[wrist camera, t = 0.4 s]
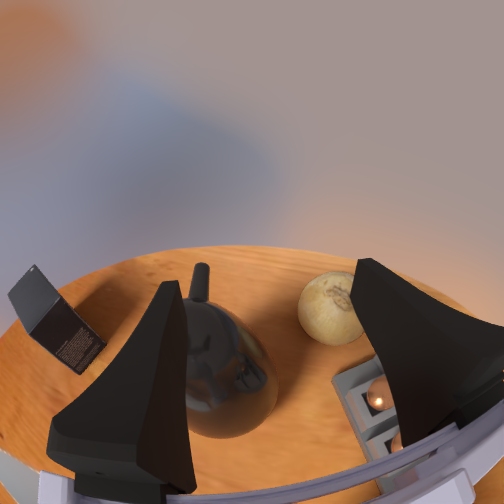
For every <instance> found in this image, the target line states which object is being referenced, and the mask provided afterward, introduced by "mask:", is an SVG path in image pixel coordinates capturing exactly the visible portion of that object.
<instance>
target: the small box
mask: <svg viewBox="0 0 504 504" xmlns="http://www.w3.org/2000/svg"><path fill="white" fill-rule="evenodd" d="M7 295H8V297H9V299H10V301H11V303H12V305H13V307H14V309H15V311H16V313H17V315H18V317H19V319H20V321H21V323H22V325H23V327H24V329H25V330H26V332H27V334H28V335H29V336H30V337H31V338H32V339H34V340H35V341H36V342H37V343H38V344H39V345H41V346H42V347H43V348H44V349H45V350H47V351H48V352H49V353H50V354H52V355H53V356H54V357H55V358H57V359H58V360H59V361H60V362H62V363H63V364H64V365H66V366H67V367H68V368H70V369H71V370H72V371H74V372H75V373H76V374H78V375H81V374H82V372H83V371H84V370H85V369H86V368H87V367H88V365H89V364H90V363H91V362H92V361H93V360H94V358H95V357H96V356H97V355H98V354H99V352H100V351H101V350H102V349H103V348H104V347H105V345H106V342H105V341H104V340H103V339H102V338H101V337H100V336H99V335H98V334H97V333H96V332H95V331H94V330H93V329H92V328H91V327H90V326H89V325H88V324H87V323H86V322H85V321H84V320H83V319H82V317H80V316H79V314H78V313H77V312H76V311H75V310H74V309H73V308H72V307H71V306H70V305H69V304H68V303H67V302H66V300H65V299H64V298H63V297H62V296H61V295H60V294H59V292H58V291H57V290H56V289H55V288H54V287H53V285H52V284H51V283H50V282H49V281H48V279H47V278H46V277H45V276H44V275H43V273H42V272H41V271H40V270H39V269H38V267H37V266H36V265H35V264H34V265H33V266H32V267H31V268H30V269H29V270H28V271H27V272H26V274H25V275H24V276H23V277H22V278H21V279H20V280H19V281H18V282H17V284H16V285H15V286H14V287H13V288H12V289H11V290H10V292H9V293H8V294H7Z"/></svg>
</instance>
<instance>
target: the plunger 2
mask: <svg viewBox="0 0 504 504" xmlns="http://www.w3.org/2000/svg"><path fill="white" fill-rule="evenodd" d="M401 449H403V447H402V444H401V435H400V431H399V432H398V433H397V434H396V435H395V436H394V438H393V440H392V442H391V452H392V453H394V452H396V451H399V450H401Z"/></svg>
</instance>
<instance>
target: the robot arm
mask: <svg viewBox="0 0 504 504" xmlns="http://www.w3.org/2000/svg"><path fill="white" fill-rule="evenodd" d="M349 297H350V300H351V303H352V305H353V308H354V311H355V313H356V316H357V318H358V320H359V322H360V324H361V326H362V327H363V329H364V331H365V333H366V335H367V337H368V339H369V341H370V342H371V344H372V346H373V348H374V350H375V352H376V354H377V356H378V358H379V360H380V362H381V365H382V367H383V370H384V373H385V376H386V378H387V381H388V384H389V388H390V391H391V394H392V398H393V401H394V405H395V409H396V414H397V418H398V424H399V429H400V435H401V444H402V447H403V449H401V450H399V451H396V452H394V453H392V454H389V455H387V456H384V457H382V458H379V459H377V460H374V461H371V462H369V463H366V464H363V465H360V466H358V467H355V468H352V469H348V470H345V471H342V472H339V473H336V474H332V475H329V476H325V477H321V478H317V479H313V480H309V481H305V482H301V483H296V484H291V485H286V486H281V487H275V488H269V489H263V490H255V491H247V492H238V493H227V494H211V495H178V494H191V493H193V492H194V491H195V490H196V488H197V484H196V479H195V474H194V468H193V462H192V456H191V449H190V441H189V432H188V423H187V412H186V370H187V353H188V324H187V315H186V311H185V307H184V303H183V299H182V295H181V291H180V287H179V282H178V280H175V281H164V282H162V283H161V284H160V286H159V288H158V290H157V292H156V294H155V295H154V297H153V299H152V301H151V303H150V305H149V306H148V308H147V310H146V312H145V313H144V315H143V317H142V318H141V320H140V322H139V323H138V325H137V327H136V328H135V330H134V331H133V333H132V334H131V336H130V337H129V339H128V340H127V342H126V343H125V345H124V346H123V347H122V349H121V350H120V351H119V353H118V354H117V355H116V357H115V358H114V359H113V360H112V362H111V363H110V364H109V365H108V366H107V368H106V369H105V370H104V371H103V372H102V373H101V375H100V376H99V377H98V378H97V379H96V380H95V381H94V382H93V383H92V384H91V385H90V386H89V387H88V388H87V389H86V390H85V391H84V392H83V393H82V394H81V395H80V396H79V397H77V398H76V399H75V400H74V401H73V402H72V403H70V404H69V405H68V406H67V407H65V408H64V409H63V410H62V411H60V412H59V413H58V414H57V415H55V416H54V417H53V418H52V421H51V425H50V430H49V437H48V443H47V450H46V454H47V455H48V457H49V458H50V459H52V460H53V461H55V462H56V463H58V464H60V465H62V466H63V467H65V468H67V469H69V470H71V471H73V472H75V480H74V479H71V478H68V477H65V476H61V475H58V474H54V473H50V472H47V471H44V470H41V471H40V479H39V492H38V504H292V503H297V502H301V501H306V500H310V499H314V498H318V497H322V496H325V495H329V494H332V493H336V492H339V491H342V490H345V489H348V488H351V487H354V486H357V485H360V484H363V483H366V482H368V481H371V480H374V479H376V478H379V477H381V476H384V475H386V474H388V473H391V472H393V471H395V470H397V469H400V468H402V467H404V466H406V465H408V464H410V463H412V462H414V461H416V460H418V459H420V458H422V457H424V456H426V455H428V454H430V455H429V458H428V459H427V460H426V461H424V462H422V463H420V464H418V465H416V466H415V467H413V468H412V469H410V470H408V471H406V472H405V473H403V474H401V475H399V476H397V477H395V478H394V479H393V482H394V485H395V490H392V491H390V492H388V493H386V494H383V495H381V496H378V497H376V498H373V499H371V500H368V501H365V502H363V503H360V504H472V503H473V502H474V500H475V497H476V493H475V491H474V488H473V485H475V484H476V483H477V482H478V481H479V480H480V479H481V478H482V477H483V476H484V475H485V474H486V473H488V472H489V471H490V470H491V469H492V468H493V467H494V466H495V465H496V464H497V463H498V461H499V460H500V459H501V458H502V457H503V456H504V381H503V379H504V372H503V370H504V327H502V326H498V325H494V324H491V323H488V322H485V321H482V320H479V319H476V318H474V317H471V316H469V315H466V314H464V313H462V312H459V311H457V310H455V309H453V308H451V307H449V306H447V305H445V304H443V303H441V302H439V301H438V300H436V299H434V298H432V297H431V296H429V295H427V294H426V293H424V292H423V291H421V290H419V289H418V288H416V287H415V286H413V285H412V284H410V283H409V282H407V281H406V280H404V279H403V278H401V277H400V276H398V275H397V274H395V273H394V272H392V271H391V270H389V269H388V268H386V267H385V266H383V265H382V264H380V263H378V262H377V261H375V260H373V259H372V258H366V259H358V262H357V266H356V271H355V275H354V279H353V283H352V288H351V292H350V296H349Z"/></svg>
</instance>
